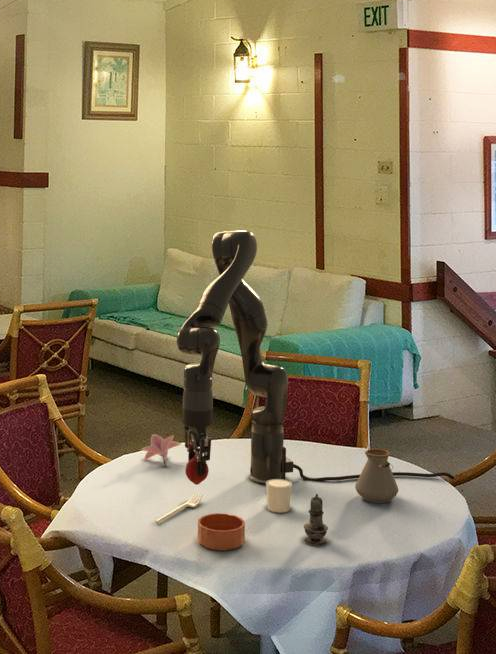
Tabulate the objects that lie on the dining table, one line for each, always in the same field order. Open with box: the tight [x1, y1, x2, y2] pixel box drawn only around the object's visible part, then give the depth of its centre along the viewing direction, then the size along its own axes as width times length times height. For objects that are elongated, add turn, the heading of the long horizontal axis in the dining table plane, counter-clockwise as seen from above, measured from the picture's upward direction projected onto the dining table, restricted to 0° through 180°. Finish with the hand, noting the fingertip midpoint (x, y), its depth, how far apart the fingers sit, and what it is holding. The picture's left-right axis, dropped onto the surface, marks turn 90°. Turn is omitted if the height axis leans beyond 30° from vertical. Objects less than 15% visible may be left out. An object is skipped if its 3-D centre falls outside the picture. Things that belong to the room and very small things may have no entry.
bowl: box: [197, 512, 246, 551], centre depth 232 cm, size 11×11×5 cm
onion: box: [184, 455, 210, 486], centre depth 242 cm, size 6×6×8 cm
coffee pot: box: [354, 448, 399, 504], centre depth 256 cm, size 21×12×15 cm, turn 177°
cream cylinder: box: [265, 479, 293, 514], centre depth 253 cm, size 7×7×7 cm
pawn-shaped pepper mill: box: [303, 493, 329, 547], centre depth 232 cm, size 6×6×12 cm
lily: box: [140, 433, 182, 467], centre depth 289 cm, size 12×12×10 cm
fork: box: [155, 493, 204, 524], centre depth 251 cm, size 3×20×2 cm, turn 145°
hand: (196, 470), depth 242 cm, fingers closed on onion, 6 cm apart
